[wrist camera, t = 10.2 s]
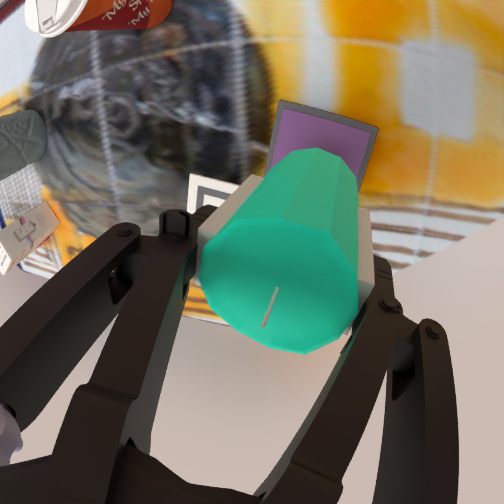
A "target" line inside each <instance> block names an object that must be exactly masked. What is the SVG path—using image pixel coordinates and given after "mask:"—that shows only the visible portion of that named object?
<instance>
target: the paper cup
mask: <svg viewBox="0 0 504 504" xmlns="http://www.w3.org/2000/svg"><path fill="white" fill-rule="evenodd" d="M172 6H173V0H26V2H25V10H24V15H25V21H26V24H27V26H28V28H29V29H30V30H31V31H33V32H35V33H39V34H40V35H42V36H44V37H54V36H57V35H59V34H61V33H62V32H71V31H85V30H112V29H149V28H153V27H156V26H157V25H159V24H161V23H162V22H163V21H164V20H165V19H166V18H167V17H168V15H169V13H170V12H171V9H172Z"/></svg>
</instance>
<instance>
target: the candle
mask: <svg viewBox="0 0 504 504" xmlns="http://www.w3.org/2000/svg"><path fill="white" fill-rule="evenodd" d="M358 206H359V199H358V190H357V181H356V177H355V175H354V174H353V173H352V171H351V170H350V169H349V167H348V166H347V165H346V163H345V162H344V161H343V160H342V158H341V157H339V156H336V155H334V154H332V153H329V152H327V151H324V150H322V149H320V148H310V149H302V150H294V151H292V152H291V153H289V154H288V155H287V156H285V157H284V158H283V159H282V160H281V161H279V162H278V163H277V164H276V165H274V167H273V168H272V169H271V170H270V171H269V172H268V173H267V174H266V175H265V177H264V179H263V180H262V181H261V183H260V184H259V185H258V186H257V187H256V188H255V189H254V191H253V192H252V193H251V194H250V195H249V196H248V198H247V199H246V200H245V201H244V202H243V203H242V205H241V206H240V207H239V208H238V209H237V210H236V212H235V213H234V214H233V215H232V216H231V217H230V219H229V220H228V221H227V222H226V223H225V225H224V226H223V227H222V228H221V229H220V230H219V232H218V233H217V234H216V235H215V236H213V237H212V238H211V239H210V240H209V241H208V243H207V244H206V245H205V246H204V248H203V253H202V258H201V264H200V269H199V274H198V279H199V282H200V284H201V287H202V289H203V292H204V294H205V296H206V299H207V301H208V304H209V306H210V308H211V309H212V310H213V311H214V312H215V313H216V314H218V315H219V316H220V317H221V318H222V319H224V320H225V321H226V322H227V323H228V324H230V325H231V326H232V327H233V328H234V329H236V330H237V331H238V332H240V333H242V334H244V335H246V336H248V337H250V338H252V339H254V340H256V341H258V342H259V343H261V344H263V345H265V346H267V347H269V348H273V349H278V350H283V351H289V352H294V353H301V354H307V353H309V352H311V351H314V350H316V349H318V348H320V347H322V346H324V345H326V344H329V343H331V342H333V341H335V340H337V339H338V338H339V337H340V336H341V335H342V333H343V332H344V331H345V330H346V328H347V327H348V326H349V325H350V323H351V322H352V321H353V319H354V318H355V317H356V315H357V314H358V304H359V297H358Z"/></svg>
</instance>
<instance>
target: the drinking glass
mask: <svg viewBox="0 0 504 504" xmlns="http://www.w3.org/2000/svg"><path fill="white" fill-rule="evenodd" d="M46 144H47V134H46V128H45V124H44V122H43V119H42V117H41V116H40V114H39V113H38V112H36V111H35V110H25V111H22V112H17V113H12V114H8V115H3V116H2V117H0V181H1V180H3V179H5V178H7V177H9V176H10V175H11V174H14V173H16V172H17V171H19V170H21V169H22V168H24V167H26V165H27V164H31V163H33V162H35V161H37V160H38V159H40V158H41V157H42V156H43V154H44V152H45V149H46Z"/></svg>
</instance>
